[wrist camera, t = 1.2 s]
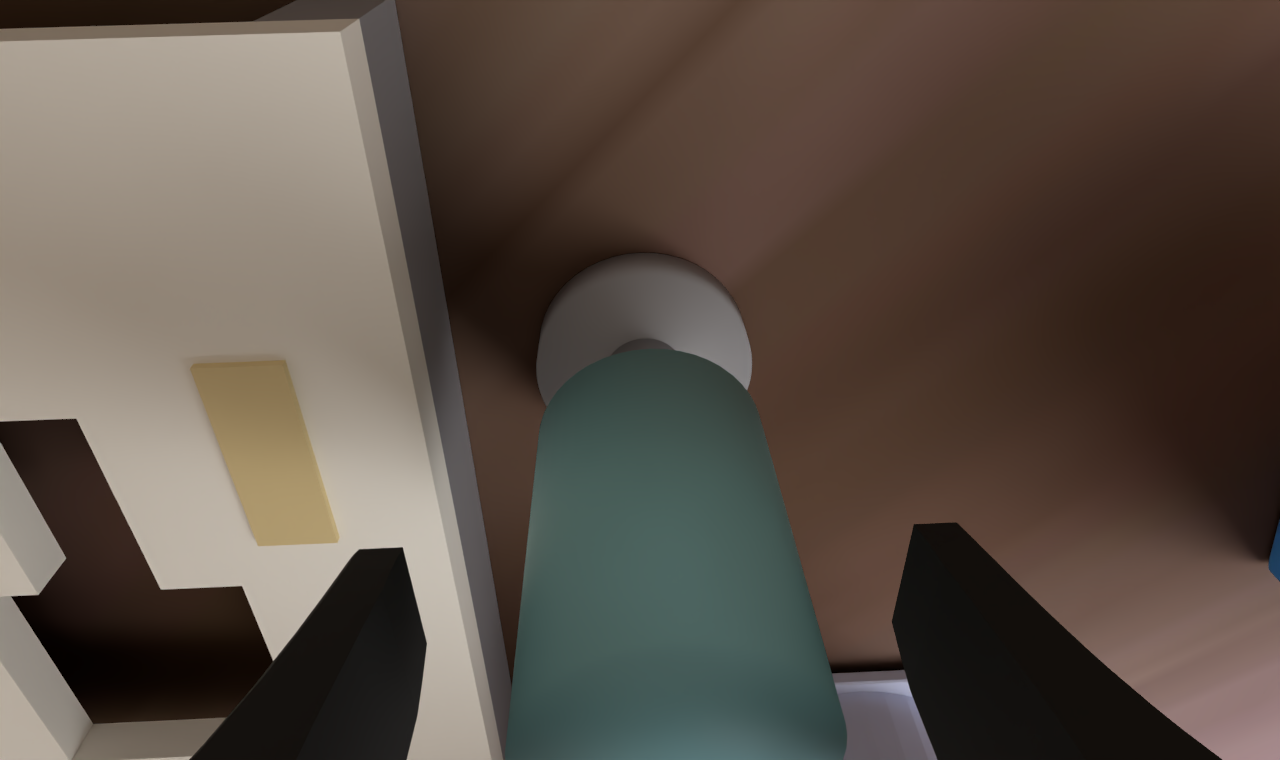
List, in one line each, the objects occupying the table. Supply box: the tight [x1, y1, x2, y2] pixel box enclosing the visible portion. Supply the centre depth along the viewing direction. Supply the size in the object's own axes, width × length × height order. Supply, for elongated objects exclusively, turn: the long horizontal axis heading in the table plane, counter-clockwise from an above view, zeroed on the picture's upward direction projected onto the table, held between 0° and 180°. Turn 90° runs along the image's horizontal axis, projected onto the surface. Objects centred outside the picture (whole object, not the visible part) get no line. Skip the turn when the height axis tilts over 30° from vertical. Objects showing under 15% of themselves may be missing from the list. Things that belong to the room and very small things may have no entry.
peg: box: [505, 253, 847, 760], centre depth 13 cm, size 4×4×9 cm
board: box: [0, 0, 512, 760], centre depth 17 cm, size 20×14×3 cm
